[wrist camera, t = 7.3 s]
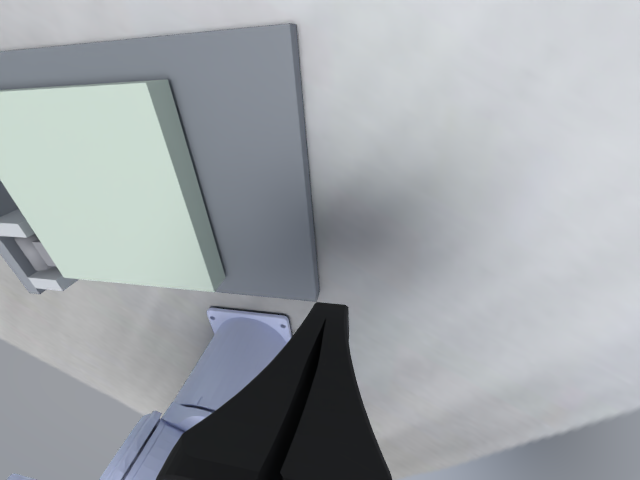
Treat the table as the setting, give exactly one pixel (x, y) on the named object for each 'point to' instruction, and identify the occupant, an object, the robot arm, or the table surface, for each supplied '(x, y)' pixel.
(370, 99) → the table surface
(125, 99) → the door
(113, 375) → the table surface
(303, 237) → the jig board
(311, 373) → the robot arm
